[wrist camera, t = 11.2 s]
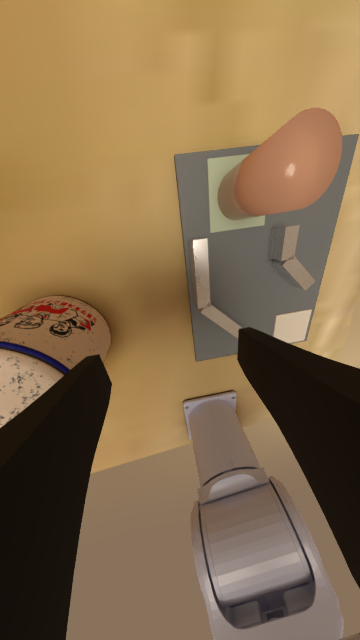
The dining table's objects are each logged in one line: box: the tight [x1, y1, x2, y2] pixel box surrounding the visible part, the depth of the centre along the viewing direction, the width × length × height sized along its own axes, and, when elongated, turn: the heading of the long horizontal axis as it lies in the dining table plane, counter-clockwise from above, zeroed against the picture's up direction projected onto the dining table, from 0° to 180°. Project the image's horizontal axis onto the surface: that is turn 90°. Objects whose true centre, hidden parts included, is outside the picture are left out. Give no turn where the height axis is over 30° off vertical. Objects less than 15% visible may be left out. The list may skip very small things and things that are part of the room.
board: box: [174, 134, 359, 362], centre depth 18 cm, size 20×15×1 cm
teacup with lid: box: [0, 296, 111, 428], centre depth 13 cm, size 12×9×12 cm
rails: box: [188, 225, 315, 339], centre depth 17 cm, size 12×12×2 cm
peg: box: [217, 108, 342, 220], centre depth 11 cm, size 4×4×7 cm
